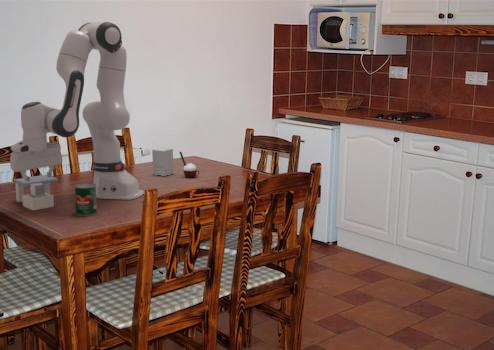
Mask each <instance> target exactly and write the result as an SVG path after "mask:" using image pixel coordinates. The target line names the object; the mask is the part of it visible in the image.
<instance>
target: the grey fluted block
mask: <svg viewBox="0 0 494 350" xmlns="http://www.w3.org/2000/svg"><path fill="white" fill-rule="evenodd" d="M151 151H152V176H157V175H161V176H160V177H163V176H165V177H167V176H166V175H169V176H171V175H170V174H173V175H174V150H173V148H165V147H159V148H154V149H152V150H151Z"/></svg>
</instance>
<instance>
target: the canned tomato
mask: <svg viewBox="0 0 494 350" xmlns="http://www.w3.org/2000/svg"><path fill="white" fill-rule="evenodd" d="M93 183H94V182H93ZM93 183H92V182H82V183H77V184H74V201H75V204H74V205H75V215H77V216H81V217H89V216H90V217H91V216H94V215H96V214H97V212H98V210H97V208H98V207H97V206H98V205H97V198H96V184H93Z"/></svg>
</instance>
